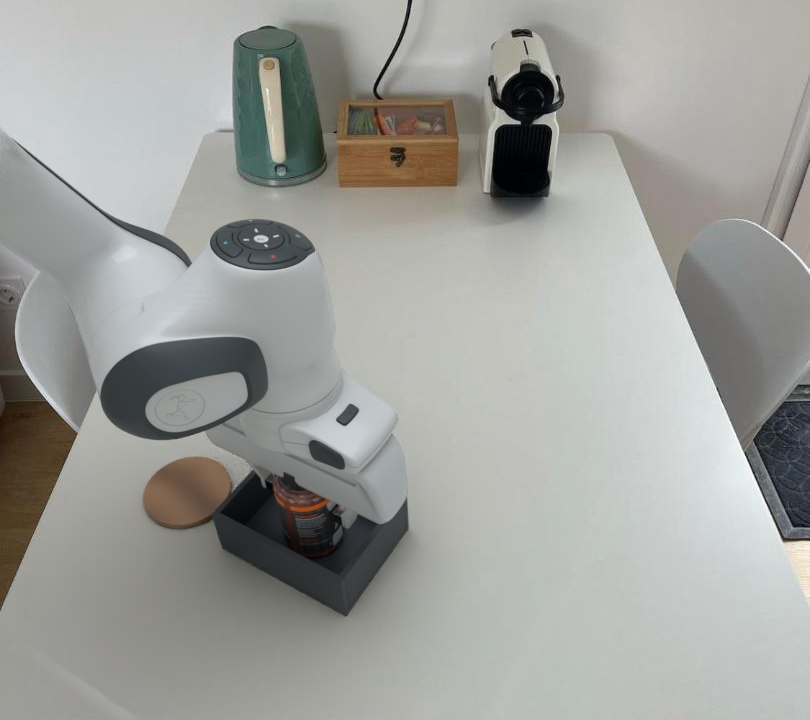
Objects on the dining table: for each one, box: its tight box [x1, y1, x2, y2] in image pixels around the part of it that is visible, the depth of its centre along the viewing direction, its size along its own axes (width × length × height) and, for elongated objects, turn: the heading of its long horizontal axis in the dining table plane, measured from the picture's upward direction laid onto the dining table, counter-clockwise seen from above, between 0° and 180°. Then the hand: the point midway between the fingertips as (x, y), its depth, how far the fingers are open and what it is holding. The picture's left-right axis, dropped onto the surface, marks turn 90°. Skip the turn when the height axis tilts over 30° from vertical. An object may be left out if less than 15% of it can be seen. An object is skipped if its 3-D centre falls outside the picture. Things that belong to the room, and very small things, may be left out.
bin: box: [211, 469, 410, 617], centre depth 78 cm, size 11×15×6 cm
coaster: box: [142, 456, 233, 529], centre depth 85 cm, size 9×9×1 cm
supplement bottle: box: [273, 472, 345, 558], centre depth 76 cm, size 6×6×11 cm
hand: (309, 502), depth 76 cm, fingers open, 7 cm apart
